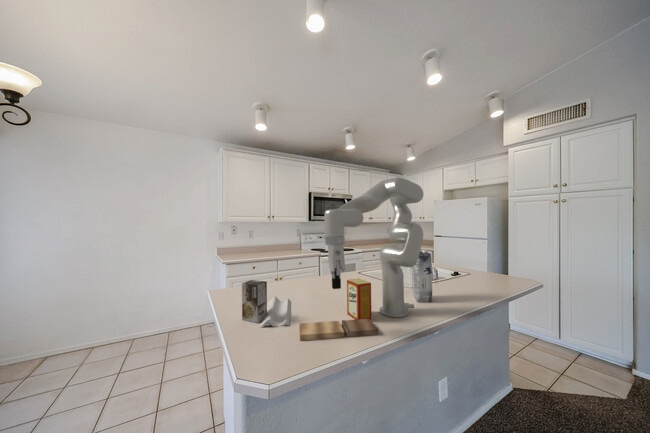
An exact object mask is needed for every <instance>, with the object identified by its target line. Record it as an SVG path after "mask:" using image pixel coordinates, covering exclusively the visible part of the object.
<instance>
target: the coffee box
mask: <svg viewBox="0 0 650 433" xmlns="http://www.w3.org/2000/svg"><path fill="white" fill-rule="evenodd" d="M267 286H268V283H267V281H264V280H254V279H250V280H248V281H245V282H242V283H241V310H242V311H241V314H242V315H241V317H242V318H241V319H242V320H243V321H246V322H251V323H257V324H258V323H260V322H261V323H262V320H263V319H264V318H265V316H266V315H267V304H268V300H267V299H268V296H267V294H268V291H267V290H268V289H267V288H268V287H267Z"/></svg>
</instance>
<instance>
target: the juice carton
mask: <svg viewBox="0 0 650 433" xmlns="http://www.w3.org/2000/svg"><path fill="white" fill-rule="evenodd" d="M421 250H422V251H421ZM421 250H420V253H419V257H418V260H417V263H416V264H415V265H414V266H413V267H411V278H412V279H411V280H412V281H411V284H412V285H411V286H412V288H411V290H412V296H413V298H414V299H415V301H416V303H417V302H418V303H432V300H433V271H432V269H433V268H432V267H433V265H432V263H433V261H432V254H431V253H430V252H429V250H428V249H421Z"/></svg>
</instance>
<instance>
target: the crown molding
mask: <svg viewBox="0 0 650 433" xmlns="http://www.w3.org/2000/svg"><path fill="white" fill-rule="evenodd" d="M290 319H291V300H290V299H289V298H286V299H285V300H284V301H282V300H280V299H279V298H278V297H277V296H273V297H272V298H271V299H270V300H269V301H267V315H266V316H265V318H264V319H263V320H262V321H261V323H260V326H259V328H260V329H261V328H262V329H263V328H265V327H267V326H269V327H270V326H272V327H273V328H276V327H285V326H290V321H291V320H290Z"/></svg>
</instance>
